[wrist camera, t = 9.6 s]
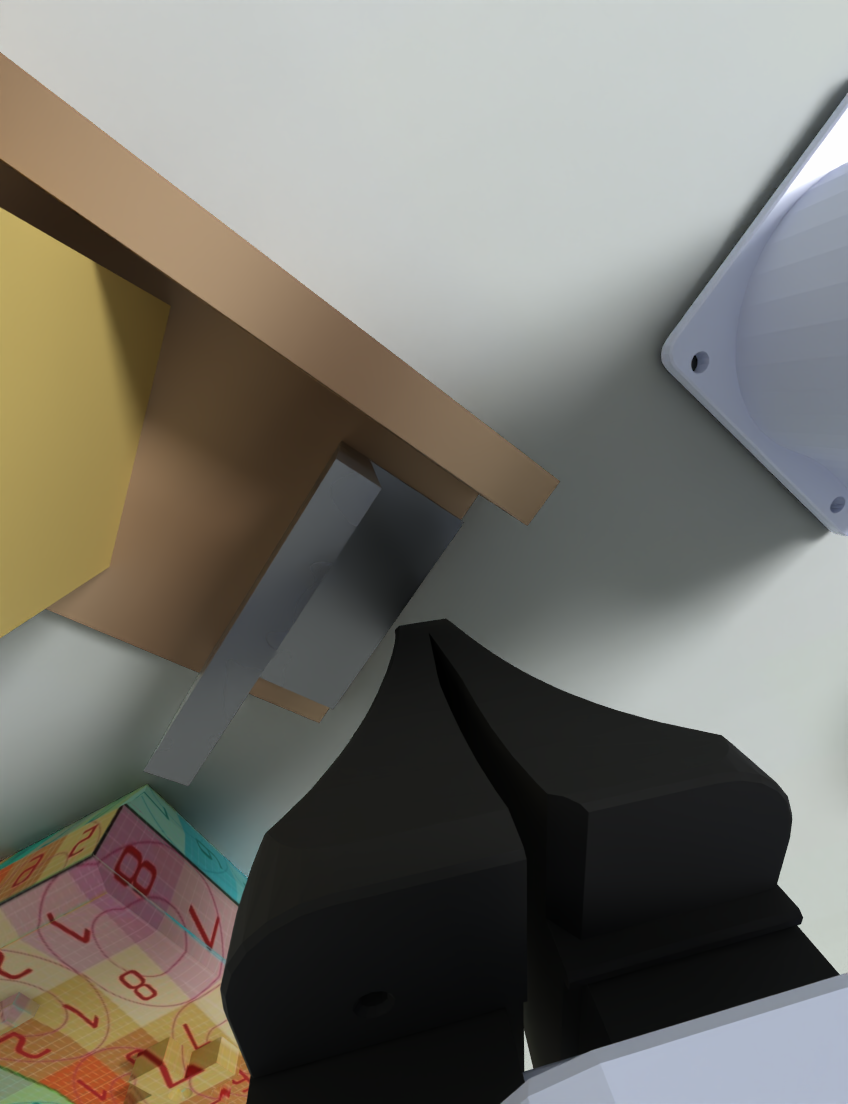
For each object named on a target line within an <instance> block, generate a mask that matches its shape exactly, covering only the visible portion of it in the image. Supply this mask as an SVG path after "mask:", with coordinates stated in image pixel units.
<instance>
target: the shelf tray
mask: <svg viewBox="0 0 848 1104" xmlns="http://www.w3.org/2000/svg"><path fill="white" fill-rule="evenodd" d="M0 207H1V208H2V209H4V210H6V211H7V212H9V213H11V214H13V215H14V216H16V217H18V218H20V219H21V220H23V221H25V222H27V223H28V224H30V225H32V226H33V227H35V228H37V229H39V230H40V231H42V232H44V233H46V234H47V235H49V236H51V237H52V238H54V239H56V240H58V241H59V242H61V243H63V244H65V245H66V246H68V247H70V248H71V249H73V250H75V251H77V252H78V253H80V254H82V255H84V256H85V257H87V258H89V259H90V260H92V261H94V262H96V263H97V264H99V265H101V266H103V267H104V268H106V269H108V270H110V271H111V272H113V273H115V274H116V275H118V276H120V277H122V278H123V279H125V280H127V281H129V282H130V283H132V284H134V285H135V286H137V287H139V288H141V289H142V290H144V291H146V292H148V293H149V294H151V295H153V296H154V297H156V298H158V299H160V300H161V301H163V302H165V303H167V304H168V305H170V306H171V308H170V312H169V316H168V320H167V325H166V329H165V333H164V337H163V342H162V346H161V350H160V354H159V359H158V363H157V367H156V371H155V375H154V380H153V384H152V388H151V392H150V397H149V401H148V405H147V409H146V414H145V418H144V422H143V426H142V431H141V435H140V439H139V443H138V447H137V452H136V456H135V460H134V464H133V469H132V473H131V477H130V481H129V486H128V490H127V494H126V498H125V502H124V507H123V511H122V515H121V519H120V524H119V528H118V532H117V536H116V541H115V545H114V549H113V553H112V558H111V562H110V566H109V567H108V568H107V569H105V570H104V571H102V572H101V573H99V574H98V575H96V576H95V577H93V578H92V579H90V580H88V581H87V582H85V583H84V584H82V585H81V586H79V587H78V588H76V589H75V590H73V591H72V592H70V593H69V594H67V595H66V596H64V597H62V598H61V599H59V600H58V601H56V602H55V603H53V604H52V605H50V606H49V607H47V608H46V609H47V610H50V611H52V612H54V613H57V614H59V615H62V616H64V617H66V618H69V619H71V620H74V621H76V622H78V623H81V624H83V625H86V626H88V627H90V628H93V629H95V630H98V631H100V632H102V633H105V634H107V635H110V636H112V637H114V638H117V639H119V640H122V641H124V642H126V643H129V644H131V645H134V646H136V647H138V648H141V649H143V650H145V651H148V652H150V653H153V654H155V655H157V656H160V657H162V658H165V659H167V660H169V661H172V662H174V663H177V664H179V665H181V666H184V667H186V668H189V669H191V670H193V671H196V672H198V673H200V671H201V669H202V667H203V666H204V664H205V662H206V660H207V659H208V657H209V655H210V653H211V652H212V650H213V648H214V647H215V645H216V643H217V642H218V640H219V639H220V637H221V635H222V634H223V632H224V630H225V629H226V627H227V626H228V624H229V622H230V621H231V619H232V617H233V616H234V614H235V613H236V611H237V609H238V608H239V606H240V604H241V603H242V601H243V600H244V598H245V596H246V595H247V593H248V591H249V590H250V588H251V586H252V585H253V583H254V582H255V580H256V578H257V577H258V575H259V573H260V572H261V570H262V569H263V567H264V565H265V564H266V562H267V560H268V559H269V557H270V556H271V554H272V552H273V551H274V549H275V547H276V546H277V544H278V543H279V541H280V539H281V538H282V536H283V534H284V533H285V531H286V530H287V528H288V526H289V525H290V523H291V521H292V520H293V518H294V517H295V515H296V513H297V512H298V510H299V508H300V507H301V505H302V504H303V502H304V500H305V499H306V497H307V495H308V494H309V492H310V490H311V489H312V487H313V486H314V484H315V482H316V481H317V479H318V477H319V476H320V474H321V473H322V471H323V469H324V468H325V466H326V464H327V463H328V461H329V460H330V458H331V456H332V455H333V453H334V451H335V450H336V448H337V447H338V445H339V443H340V442H341V441H343V442H344V443H346V444H347V445H349V446H350V447H352V448H353V449H355V450H356V451H358V452H360V453H361V454H363V455H364V456H366V457H367V458H369V459H370V460H372V461H373V462H375V463H376V464H378V465H379V466H381V467H382V468H384V469H385V470H387V471H388V472H390V473H391V474H393V475H394V476H396V477H397V478H399V479H400V480H402V481H403V482H405V483H406V484H408V485H409V486H411V487H412V488H414V489H416V490H417V491H419V492H420V493H422V494H423V495H425V496H426V497H428V498H429V499H431V500H432V501H434V502H435V503H437V504H438V505H440V506H441V507H443V508H444V509H446V510H447V511H449V512H450V513H452V514H453V515H455V516H456V517H458V518H459V519H462V518H463V516H464V515H465V513H466V512H467V511H468V509H469V508H470V506H471V505H472V503H473V502H474V501H475V499H476V498H477V496H478V495H481V496H482V497H484V498H486V499H487V500H489V501H490V502H492V503H493V504H495V505H496V506H498V507H499V508H501V509H502V510H504V511H505V512H507V513H508V514H510V515H511V516H513V517H514V518H516V519H518V520H519V521H521V522H522V523H524V524H525V525H527V526H528V524H529V523H530V522H531V520H532V519H533V518H534V516H535V515H536V514H537V512H538V511H539V510H540V508H541V507H542V505H543V504H544V503H545V501H546V500H547V499H548V497H549V496H550V495H551V493H552V492H553V490H554V489H555V488H556V486H557V485H558V484H559V482H560V481H559V480H558V479H556V478H555V477H554V476H553V475H551V474H550V473H549V472H547V471H546V470H545V469H543V468H542V467H541V466H539V465H538V464H537V463H536V462H534V461H533V460H532V459H530V458H529V457H528V456H526V455H525V454H524V453H523V452H521V451H520V450H519V449H517V448H516V447H515V446H513V445H512V444H511V443H509V442H508V441H507V440H506V439H504V438H503V437H502V436H500V435H499V434H498V433H496V432H495V431H494V430H492V429H491V428H490V427H489V426H487V425H486V424H485V423H483V422H482V421H481V420H479V419H478V418H477V417H476V416H474V415H473V414H472V413H470V412H469V411H468V410H466V409H465V408H464V407H462V406H461V405H460V404H459V403H457V402H456V401H455V400H453V399H452V398H451V397H449V396H448V395H447V394H446V393H444V392H443V391H442V390H440V389H439V388H438V387H436V386H435V385H434V384H432V383H431V382H430V381H429V380H427V379H426V378H425V377H423V376H422V375H421V374H419V373H418V372H417V371H416V370H414V369H413V368H412V367H410V366H409V365H408V364H406V363H405V362H404V361H402V360H401V359H400V358H399V357H397V356H396V355H395V354H393V353H392V352H391V351H389V350H388V349H387V348H386V347H384V346H383V345H382V344H380V343H379V342H378V341H376V340H375V339H374V338H372V337H371V336H370V335H369V334H367V333H366V332H365V331H363V330H362V329H361V328H359V327H358V326H357V325H356V324H354V323H353V322H352V321H350V320H349V319H348V318H346V317H345V316H344V315H342V314H341V313H340V312H339V311H337V310H336V309H335V308H333V307H332V306H331V305H329V304H328V303H327V302H325V301H324V300H323V299H322V298H320V297H319V296H318V295H316V294H315V293H314V292H312V291H311V290H310V289H309V288H307V287H306V286H305V285H303V284H302V283H301V282H299V281H298V280H297V279H295V278H294V277H293V276H292V275H290V274H289V273H288V272H286V271H285V270H284V269H282V268H281V267H280V266H279V265H277V264H276V263H275V262H273V261H272V260H271V259H269V258H268V257H267V256H265V255H264V254H263V253H262V252H260V251H259V250H258V249H256V248H255V247H254V246H252V245H251V244H250V243H249V242H247V241H246V240H245V239H243V238H242V237H241V236H239V235H238V234H237V233H235V232H234V231H233V230H232V229H230V228H229V227H228V226H226V225H225V224H224V223H222V222H221V221H220V220H219V219H217V218H216V217H215V216H213V215H212V214H211V213H209V212H208V211H207V210H205V209H204V208H203V207H202V206H200V205H199V204H198V203H196V202H195V201H194V200H192V199H191V198H190V197H189V196H187V195H186V194H185V193H183V192H182V191H181V190H179V189H178V188H177V187H175V186H174V185H173V184H172V183H170V182H169V181H168V180H166V179H165V178H164V177H162V176H161V175H160V174H158V173H157V172H156V171H155V170H153V169H152V168H151V167H149V166H148V165H147V164H145V163H144V162H143V161H142V160H140V159H139V158H138V157H136V156H135V155H134V154H132V153H131V152H130V151H128V150H127V149H126V148H125V147H123V146H122V145H121V144H119V143H118V142H117V141H115V140H114V139H113V138H112V137H110V136H109V135H108V134H106V133H105V132H104V131H102V130H101V129H100V128H98V127H97V126H96V125H95V124H93V123H92V122H91V121H89V120H88V119H87V118H85V117H84V116H83V115H82V114H80V113H79V112H78V111H76V110H75V109H74V108H72V107H71V106H70V105H68V104H67V103H66V102H65V101H63V100H62V99H61V98H59V97H58V96H57V95H55V94H54V93H53V92H52V91H50V90H49V89H48V88H46V87H45V86H44V85H42V84H41V83H40V82H38V81H37V80H36V79H35V78H33V77H32V76H31V75H29V74H28V73H27V72H25V71H24V70H23V69H21V68H20V67H19V66H18V65H16V64H15V63H14V62H12V61H11V60H10V59H8V58H7V57H6V56H5V55H3V54H2V53H1V52H0ZM249 694H251V695H253V696H256V697H258V698H260V699H263V700H265V701H268V702H270V703H272V704H275V705H277V706H280V707H282V708H284V709H287V710H289V711H292V712H294V713H296V714H299V715H301V716H304V717H306V718H308V719H311V720H313V721H316V722H318V723H319V722H320V721H321V720H322V718H323V717H324V715H325V714H326V712H327V711H328V710H329V707H327V706H324V705H322V704H320V703H317V702H315V701H313V700H310V699H308V698H306V697H303V696H301V695H299V694H297V693H294V692H292V691H290V690H287V689H285V688H283V687H280V686H278V685H276V684H273V683H271V682H269V681H267V680H264V679H262V678H260V677H259V678H258V680H257V681H256V683H255V684H254V686H253V687H252V689H251V691H250V692H249Z"/></svg>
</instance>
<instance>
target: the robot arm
mask: <svg viewBox="0 0 848 1104" xmlns="http://www.w3.org/2000/svg"><path fill="white" fill-rule="evenodd" d="M694 355H696V357H697V359H698V363H697V367H696V369H695V371H693V370H692V368H691V361H692V359H693V356H694ZM661 358H662V363H663V365H664V366H665V368H666V369H667V370H668V371H669V372H670V373H671V374H672V375H673V376H674V377H675V378H676V379H677V380H678V381H679V382H680V383H681V384H682V385H683V386H684V387H685V388H686V389H687V390H688V391H689V392H690V393H691V394H692V395H693V396H694V397H695V398H696V399H697V400H698V401H699V402H700V403H701V404H702V405H703V406H704V407H705V408H706V409H707V410H708V411H709V412H710V413H711V414H712V415H713V416H714V417H715V418H716V419H717V420H718V421H719V422H720V423H721V424H722V425H724V426H725V427H726V428H727V429H728V430H729V431H730V432H731V433H732V434H733V435H734V436H735V437H736V438H737V439H738V440H739V441H740V442H741V443H742V444H743V445H744V446H745V447H746V448H747V449H748V450H749V451H750V452H751V453H752V454H753V455H754V456H755V457H756V458H757V459H758V460H759V461H760V462H761V463H762V464H763V465H764V466H765V467H766V468H767V469H768V470H769V471H770V472H771V473H772V474H773V475H774V476H775V477H776V478H777V479H778V480H779V481H780V482H781V483H782V484H783V485H784V486H785V487H786V488H787V489H788V490H789V491H790V492H791V493H792V494H793V495H794V496H795V497H796V498H797V499H798V500H799V501H800V502H801V503H802V504H803V505H804V506H805V507H807V508H808V509H809V510H810V511H811V512H812V513H813V514H814V515H815V516H816V517H817V518H818V519H819V520H820V521H821V522H822V523H823V524H824V525H825V526H826V527H827V528H828V529H829V530H830V531H831V532H833V533H835V534H839V535H843V536H848V93H847V95H846V96H845V97H844V99H843V100H842V101H841V103H840V104H839V105H838V107H837V108H836V110H835V111H834V112H833V114H832V115H831V116H830V118H829V119H828V120H827V122H826V123H825V124H824V126H823V127H822V129H821V130H820V131H819V133H818V134H817V135H816V137H815V138H814V139H813V141H812V142H811V144H810V145H809V146H808V148H807V149H806V150H805V152H804V153H803V154H802V156H801V157H800V158H799V160H798V161H797V163H796V164H795V165H794V167H793V168H792V169H791V171H790V172H789V173H788V175H787V176H786V178H785V179H784V180H783V182H782V183H781V184H780V186H779V187H778V188H777V190H776V191H775V192H774V194H773V195H772V197H771V198H770V199H769V201H768V202H767V203H766V205H765V206H764V207H763V209H762V210H761V212H760V213H759V214H758V216H757V217H756V218H755V220H754V221H753V222H752V224H751V225H750V226H749V228H748V229H747V231H746V232H745V233H744V235H743V236H742V237H741V239H740V240H739V241H738V243H737V244H736V246H735V247H734V248H733V250H732V251H731V252H730V254H729V255H728V256H727V258H726V259H725V260H724V262H723V263H722V265H721V266H720V267H719V269H718V270H717V271H716V273H715V274H714V275H713V277H712V278H711V280H710V281H709V282H708V284H707V285H706V286H705V288H704V289H703V290H702V292H701V293H700V294H699V296H698V297H697V299H696V300H695V301H694V303H693V304H692V305H691V307H690V308H689V309H688V311H687V312H686V314H685V315H684V316H683V318H682V319H681V320H680V322H679V323H678V324H677V326H676V327H675V328H674V330H673V331H672V333H671V334H670V335H669V337H668V338H667V339H666V341H665V343H664V345H663V347H662V353H661ZM791 825H792V812H791V808H790V804H789V800H788V796H787V795H786V794H785V792H784V791H783V790H782V789H781V787H780V786H779V785H778V784H777V783H776V782H775V781H774V780H773V779H772V778H771V777H769V776H768V775H767V774H766V773H765V772H764V771H763V770H761V769H760V768H759V767H758V766H757V765H756V764H754V763H753V762H752V761H751V760H750V759H749V758H748V757H746V756H745V755H744V754H743V753H742V752H741V751H740V750H738V749H737V748H736V747H735V746H734V745H733V744H732V743H730V742H729V741H728V740H727V739H725V738H724V737H723V736H722V735H717V734H713V733H708V732H703V731H699V730H694V729H689V728H684V727H680V726H675V725H670V724H666V723H661V722H657V721H653V720H649V719H646V718H642V717H638V716H635V715H631V714H628V713H624V712H621V711H618V710H614V709H611V708H608V707H605V706H602V705H599V704H596V703H594V702H591V701H588V700H586V699H583V698H580V697H578V696H575V695H572V694H570V693H567V692H565V691H563V690H560V689H558V688H555V687H553V686H551V685H549V684H547V683H545V682H543V681H541V680H539V679H537V678H535V677H532V676H530V675H529V674H527V673H525V672H523V671H521V670H519V669H518V668H516V667H514V666H513V665H511V664H509V663H508V662H506V661H504V660H503V659H501V658H499V657H498V656H496V655H495V654H493V653H492V652H490V651H489V650H487V649H486V648H484V647H483V646H482V645H480V644H479V643H477V642H476V641H475V640H473V639H472V638H471V637H469V636H468V635H467V634H465V633H464V632H463V631H462V630H460V629H459V628H458V627H456V626H455V625H454V624H453V623H451V622H450V621H449V620H447V619H440V620H433V621H427V622H421V623H414V624H408V625H401V626H398V628H397V629H396V630H395V644H394V649H393V653H392V656H391V659H390V663H389V666H388V669H387V672H386V674H385V677H384V679H383V682H382V684H381V686H380V689H379V691H378V693H377V695H376V697H375V699H374V701H373V703H372V705H371V707H370V709H369V711H368V713H367V714H366V716H365V718H364V720H363V721H362V723H361V725H360V726H359V728H358V729H357V731H356V732H355V734H354V735H353V737H352V738H351V740H350V741H349V743H348V744H347V746H346V747H345V748H344V750H343V751H342V753H341V754H340V755H339V757H338V758H337V759H336V760H335V761H334V763H333V764H332V765H331V766H330V767H329V769H328V770H327V771H326V772H325V773H324V775H323V776H322V777H321V778H320V779H319V781H318V782H317V783H316V784H315V785H314V787H313V788H312V789H311V790H310V791H309V792H308V793H307V794H306V795H305V796H304V797H303V798H302V799H301V800H300V801H299V802H298V803H297V804H296V805H295V806H294V807H293V808H292V809H291V810H290V811H289V812H288V813H287V814H286V815H285V816H284V817H283V818H282V819H280V820H279V821H278V822H277V823H276V824H275V825H274V826H273V827H272V828H271V829H270V830H269V831H267V832H266V834H265V835H264V837H263V840H262V842H261V845H260V847H259V850H258V852H257V855H256V857H255V860H254V862H253V865H252V868H251V871H250V874H249V876H248V879H247V882H246V885H245V888H244V891H243V894H242V897H241V900H240V903H239V907H238V910H237V913H236V917H235V922H234V926H233V931H232V935H231V940H230V945H229V949H228V954H227V959H226V963H225V968H224V973H223V977H222V982H221V987H220V992H221V998H222V1004H223V1010H224V1013H225V1015H226V1017H227V1020H228V1022H229V1025H230V1027H231V1030H232V1032H233V1034H234V1037H235V1039H236V1042H237V1044H238V1047H239V1049H240V1051H241V1054H242V1056H243V1059H244V1061H245V1063H246V1066H247V1068H248V1071H249V1073H250V1082H249V1089H248V1095H247V1102H246V1104H848V973H845V974H842V975H840V974H839V973H838V972H837V971H836V970H835V969H834V968H833V966H832V965H831V964H830V963H829V962H828V961H827V959H826V958H825V957H824V956H823V955H822V954H821V953H820V951H819V950H818V949H817V948H816V947H815V946H814V944H813V943H812V942H811V941H810V940H809V939H808V938H807V936H806V935H805V934H804V933H803V932H802V931H801V929H800V928H799V927H798V926H797V925H800V924H801V922H802V919H803V916H802V914H801V912H800V910H799V908H798V907H797V906H796V905H795V904H794V902H793V901H792V900H791V899H790V898H789V897H788V896H787V895H786V894H785V892H784V891H783V890H782V889H781V888H780V887H779V886H778V885H777V882H778V878H779V875H780V871H781V868H782V864H783V861H784V857H785V853H786V850H787V846H788V843H789V839H790V833H791ZM524 1031H525V1035H526V1039H527V1043H528V1048H529V1052H530V1056H531V1060H532V1064H533V1069H531V1070H528V1071H525V1072H524Z"/></svg>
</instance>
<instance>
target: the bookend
mask: <svg viewBox="0 0 848 1104" xmlns="http://www.w3.org/2000/svg"><path fill="white" fill-rule="evenodd" d="M463 523H464V522H463V521H462V520H461V519H459V518H458V517H456V516H455V515H453V514H452V513H450V512H449V511H447V510H446V509H444V508H443V507H441V506H440V505H438V504H437V503H435V502H434V501H432V500H431V499H429V498H428V497H426V496H425V495H423V494H422V493H420V492H419V491H417V490H416V489H414V488H412V487H411V486H409V485H408V484H406V483H405V482H403V481H402V480H400V479H399V478H397V477H396V476H394V475H393V474H391V473H390V472H388V471H387V470H385V469H384V468H382V467H381V466H379V465H378V464H376V463H375V462H373V461H372V460H370V459H369V458H367V457H366V456H364V455H363V454H361V453H360V452H358V451H356V450H355V449H353V448H352V447H350V446H349V445H347V444H346V443H344V442H343V441H341V442H340V443H339V445H338V447H337V448H336V450H335V451H334V453H333V455H332V456H331V458H330V460H329V461H328V463H327V464H326V466H325V468H324V469H323V471H322V473H321V474H320V476H319V477H318V479H317V481H316V482H315V484H314V486H313V487H312V489H311V490H310V492H309V494H308V495H307V497H306V499H305V500H304V502H303V504H302V505H301V507H300V508H299V510H298V512H297V513H296V515H295V517H294V518H293V520H292V521H291V523H290V525H289V526H288V528H287V530H286V531H285V533H284V534H283V536H282V538H281V539H280V541H279V543H278V544H277V546H276V547H275V549H274V551H273V552H272V554H271V556H270V557H269V559H268V560H267V562H266V564H265V565H264V567H263V569H262V570H261V572H260V573H259V575H258V577H257V578H256V580H255V582H254V583H253V585H252V586H251V588H250V590H249V591H248V593H247V595H246V596H245V598H244V600H243V601H242V603H241V604H240V606H239V608H238V609H237V611H236V613H235V614H234V616H233V617H232V619H231V621H230V622H229V624H228V626H227V627H226V629H225V630H224V632H223V634H222V635H221V637H220V639H219V640H218V642H217V643H216V645H215V647H214V648H213V650H212V652H211V653H210V655H209V657H208V659H207V660H206V662H205V664H204V666H203V667H202V669H201V671H200V673H199V674H198V676H197V678H196V680H195V681H194V683H193V685H192V687H191V688H190V690H189V692H188V694H187V695H186V697H185V699H184V701H183V702H182V704H181V706H180V708H179V709H178V711H177V713H176V715H175V716H174V718H173V720H172V722H171V723H170V725H169V727H168V729H167V730H166V732H165V734H164V736H163V737H162V739H161V741H160V743H159V744H158V746H157V748H156V750H155V751H154V753H153V755H152V757H151V758H150V760H149V762H148V764H147V765H146V767H145V769H144V772H147V773H150V774H153V775H156V776H159V777H162V778H165V779H168V780H171V781H174V782H177V783H180V784H183V785H186V786H189V785H190V783H191V781H192V780H193V778H194V777H195V775H196V774H197V772H198V771H199V769H200V768H201V766H202V764H203V763H204V761H205V760H206V758H207V757H208V755H209V754H210V752H211V751H212V749H213V748H214V746H215V744H216V743H217V741H218V740H219V738H220V737H221V735H222V734H223V732H224V731H225V729H226V728H227V726H228V724H229V723H230V721H231V720H232V718H233V717H234V715H235V714H236V712H237V711H238V709H239V707H240V706H241V704H242V703H243V701H244V700H245V698H246V697H247V695H248V694H249V692H250V691H251V689H252V687H253V686H254V684H255V683H256V681H257V680H258V678H259V677H260V678H262V679H264V680H267V681H269V682H271V683H273V684H276V685H278V686H280V687H283V688H285V689H287V690H290V691H292V692H294V693H297V694H299V695H301V696H303V697H306V698H308V699H310V700H313V701H315V702H317V703H320V704H322V705H324V706H327V707H329V708H331V709H334V707H335V706H336V704H337V703H338V702H339V700H340V699H341V697H342V696H343V694H344V693H345V692H346V690H347V689H348V687H349V686H350V684H351V683H352V682H353V680H354V679H355V677H356V676H357V674H358V673H359V672H360V670H361V669H362V667H363V666H364V664H365V663H366V662H367V660H368V659H369V657H370V656H371V654H372V653H373V652H374V650H375V649H376V647H377V646H378V645H379V643H380V642H381V640H382V639H383V637H384V636H385V635H386V633H387V632H388V630H389V629H390V627H391V626H392V625H393V623H394V622H395V620H396V619H397V617H398V616H399V615H400V613H401V612H402V610H403V609H404V607H405V606H406V605H407V603H408V602H409V600H410V599H411V597H412V596H413V595H414V593H415V592H416V590H417V589H418V587H419V586H420V585H421V583H422V582H423V580H424V579H425V577H426V576H427V575H428V573H429V572H430V570H431V569H432V568H433V566H434V565H435V563H436V562H437V560H438V559H439V558H440V556H441V555H442V553H443V552H444V550H445V549H446V548H447V546H448V545H449V543H450V542H451V540H452V539H453V538H454V536H455V535H456V533H457V532H458V530H459V529H460V528H461V526H462V525H463Z"/></svg>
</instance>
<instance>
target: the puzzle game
mask: <svg viewBox="0 0 848 1104" xmlns="http://www.w3.org/2000/svg"><path fill="white" fill-rule="evenodd" d="M247 879H248V878H247V877H246V876H244V875H243V874H242V873H241V872H240V871H239V870H238V869H237V868H236V867H235V866H234V865H233V864H232V863H231V862H230V861H229V860H227V859H226V858H225V857H224V856H223V855H222V854H221V853H220V852H219V851H218V850H217V849H216V848H215V847H214V846H213V845H212V844H210V843H209V842H208V841H207V840H206V839H205V838H204V837H203V836H202V835H201V834H200V833H199V832H198V831H197V830H196V829H195V828H193V827H192V826H191V825H190V824H189V823H188V822H187V821H186V820H185V819H184V818H183V817H182V816H181V815H180V814H179V813H178V812H176V811H175V810H174V809H173V808H172V807H171V806H170V805H169V804H168V803H167V802H166V801H165V800H164V799H163V798H162V797H161V796H160V795H158V794H157V793H156V792H155V791H154V790H153V789H152V788H151V787H150V786H149V785H148V784H146V785H144V786H143V787H141V788H139V789H137V790H135V791H133V792H131V793H129V794H127V795H125V796H124V797H122V798H120V799H118V800H116V801H114V802H112V803H110V804H108V805H107V806H105V807H103V808H101V809H99V810H97V811H95V812H93V813H91V814H90V815H88V816H86V817H84V818H82V819H80V820H78V821H76V822H74V823H73V824H71V825H69V826H67V827H65V828H63V829H61V830H59V831H57V832H56V833H54V834H52V835H50V836H48V837H46V838H44V839H42V840H40V841H39V842H37V843H35V844H33V845H31V846H29V847H27V848H25V849H23V850H22V851H20V852H18V853H16V854H14V855H12V856H10V857H8V858H6V859H5V860H3V861H1V862H0V1104H246V1102H247V1095H248V1089H249V1082H250V1073H249V1071H248V1068H247V1066H246V1063H245V1061H244V1059H243V1056H242V1054H241V1051H240V1049H239V1047H238V1044H237V1042H236V1039H235V1037H234V1034H233V1032H232V1030H231V1027H230V1025H229V1022H228V1020H227V1017H226V1015H225V1013H224V1010H223V1004H222V998H221V992H220V987H221V982H222V977H223V973H224V968H225V963H226V959H227V954H228V949H229V945H230V940H231V935H232V931H233V926H234V922H235V917H236V913H237V910H238V907H239V903H240V900H241V897H242V894H243V891H244V888H245V885H246V882H247Z"/></svg>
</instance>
